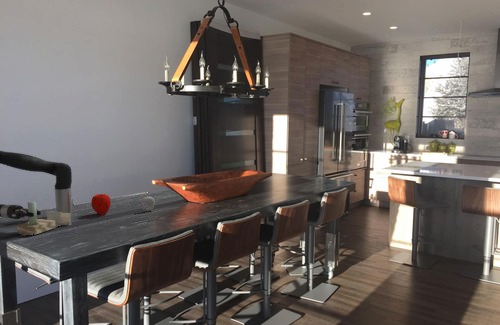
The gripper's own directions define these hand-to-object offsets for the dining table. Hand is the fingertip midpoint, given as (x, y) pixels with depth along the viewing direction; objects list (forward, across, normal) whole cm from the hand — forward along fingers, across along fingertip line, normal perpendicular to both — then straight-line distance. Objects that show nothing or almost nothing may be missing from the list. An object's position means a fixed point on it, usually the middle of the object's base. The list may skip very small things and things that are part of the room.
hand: (36, 213), depth 216 cm
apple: (+5, +45, +11) cm, 47 cm away
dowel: (-3, 0, +8) cm, 8 cm away
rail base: (-3, +6, +10) cm, 12 cm away
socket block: (-3, +2, +10) cm, 11 cm away
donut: (+29, +61, +11) cm, 69 cm away
